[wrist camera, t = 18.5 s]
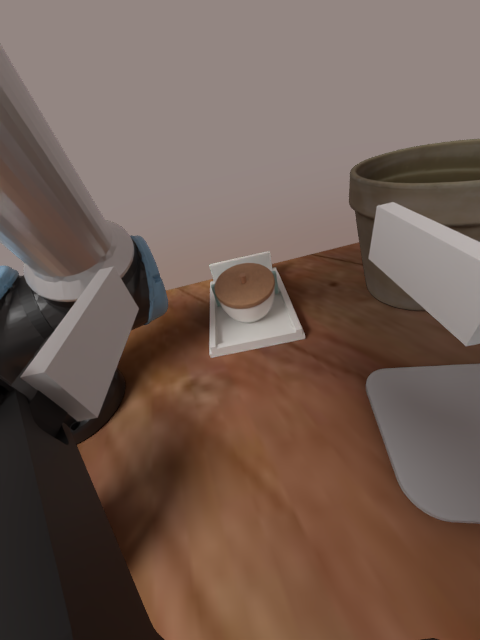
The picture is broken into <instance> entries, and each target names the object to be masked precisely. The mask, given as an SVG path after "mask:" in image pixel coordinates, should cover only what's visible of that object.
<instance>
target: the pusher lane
mask: <svg viewBox="0 0 480 640" xmlns="http://www.w3.org/2000/svg"><path fill="white" fill-rule="evenodd" d="M243 263H256V264H260V265H263V266H265V267H267V268H268V269H269V270H270V271H276V275H277V283H278V292H279V293H277V294H275V296H274V301H273V305H272V307H271V309H270V310H269V312H268V313H267V314H266V315H265V316H264V317H263V318H261V319H259V320H257V321H255V322H250V323H247V322H239V321H237V320H234V319H232V318H231V317H230V316H228V315H227V314H226V312H225V311H224V310H223V308H222V306H217V303H216V300H215V297H214V294H213V291H212V288H211V285H212V284H215V283H216V280H217V279H218V277H219V276H220V275H221V274H222V273H223V272H224V271H225V270H227V269H228V268H230V267H232V266H235V265H238V264H243ZM209 267H210V270H211V273H212V277H213V280H214V281H212V282H210V343H209V354H210V357H211V358H213V357H218V356H222V355H227V354H232V353H237V352H242V351H247V350H252V349H257V348H262V347H267V346H272V345H277V344H282V343H287V342H292V341H296V340H301V339H305V333H304V331H303V328H302V326H301V324H300V322H299V319H298V317H297V315H296V312H295V310H294V308H293V305H292V303H291V301H290V298H289V296H288V294H287V291H286V289H285V287H284V284H283V282H282V280H281V277H280V275H279V273H278V272H277V269H276V267H275V268H272V263H271V255H270V251H266V252H262V253H258V254H253V255H249V256H244V257H240V258H235V259H231V260H227V261H223V262H218V263H213V264H210V265H209Z"/></svg>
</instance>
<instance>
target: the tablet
mask: <svg viewBox="0 0 480 640" xmlns="http://www.w3.org/2000/svg"><path fill="white" fill-rule="evenodd" d="M366 392H367V395H368V398H369V401H370V404H371V407H372V410H373V413H374V415H375V418H376V421H377V424H378V427H379V430H380V433H381V435H382V438H383V441H384V444H385V447H386V450H387V453H388V456H389V458H390V461H391V464H392V467H393V470H394V473H395V476H396V479H397V481H398V483H399V485H400V487H401V489H402V491H403V492H404V493H405V495H406V496H407V497H408V498H409V500H410V501H411V502H412V503H413V504H414V505H416V506H417V507H418V508H419V509H421V510H422V511H423V512H425V513H427V514H428V515H430V516H432V517H434V518H437V519H439V520H443V521H448V522H459V523H477V524H480V364H463V365H443V366H424V367H404V368H385V369H379V370H376V371H374V372H373V373H371V374H370V375H369V377H368V379H367V382H366Z"/></svg>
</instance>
